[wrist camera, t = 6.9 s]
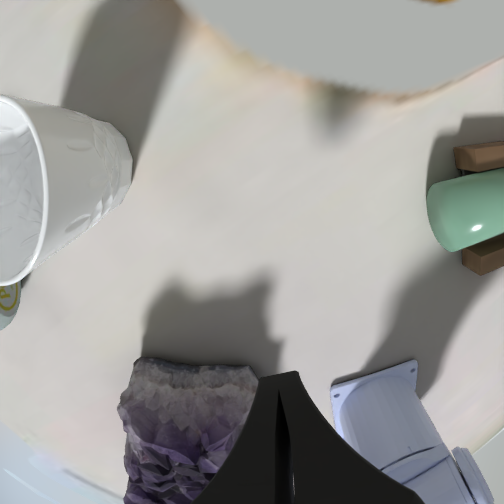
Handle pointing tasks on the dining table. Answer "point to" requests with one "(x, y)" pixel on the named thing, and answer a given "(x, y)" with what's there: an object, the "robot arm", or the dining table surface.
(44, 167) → the white cup
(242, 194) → the dining table surface
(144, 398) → the geode
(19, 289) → the air freshener
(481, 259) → the cradle
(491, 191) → the bottle
